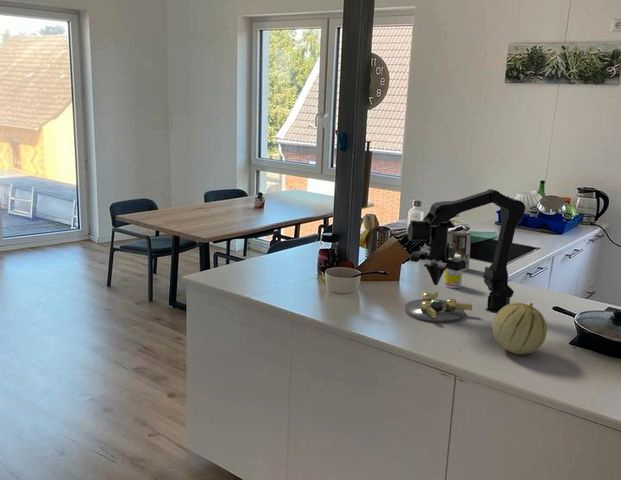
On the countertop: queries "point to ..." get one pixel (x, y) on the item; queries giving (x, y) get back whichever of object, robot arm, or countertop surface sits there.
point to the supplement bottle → (453, 276)
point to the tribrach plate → (439, 314)
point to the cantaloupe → (519, 328)
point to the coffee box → (460, 245)
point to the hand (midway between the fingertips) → (435, 284)
